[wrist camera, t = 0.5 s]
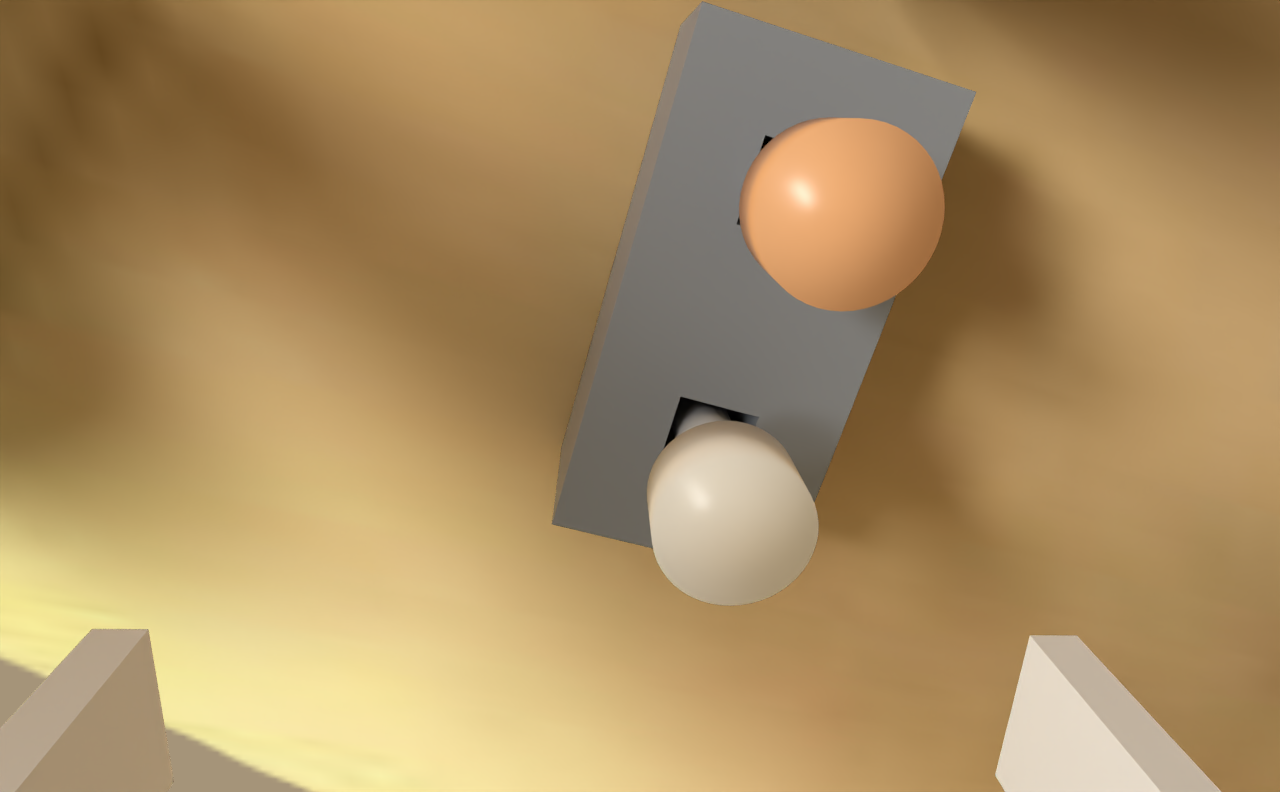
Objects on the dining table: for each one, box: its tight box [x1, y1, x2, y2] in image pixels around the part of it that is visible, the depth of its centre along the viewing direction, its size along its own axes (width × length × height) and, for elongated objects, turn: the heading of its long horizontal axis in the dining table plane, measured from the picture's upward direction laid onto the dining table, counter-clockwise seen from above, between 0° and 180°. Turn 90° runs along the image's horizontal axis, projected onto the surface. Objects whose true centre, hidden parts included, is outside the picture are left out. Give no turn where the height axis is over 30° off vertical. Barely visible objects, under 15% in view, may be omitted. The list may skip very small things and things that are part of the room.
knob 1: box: [647, 397, 819, 606], centre depth 31 cm, size 5×5×11 cm
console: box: [552, 1, 976, 548], centre depth 35 cm, size 10×20×8 cm, turn 164°
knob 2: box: [739, 117, 945, 311], centre depth 28 cm, size 5×5×11 cm
